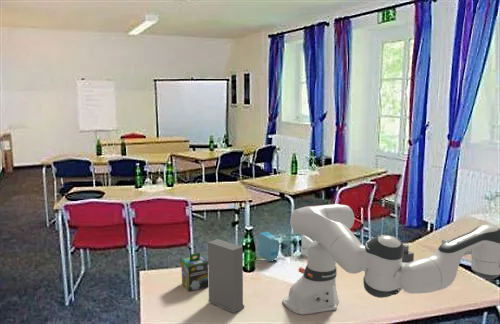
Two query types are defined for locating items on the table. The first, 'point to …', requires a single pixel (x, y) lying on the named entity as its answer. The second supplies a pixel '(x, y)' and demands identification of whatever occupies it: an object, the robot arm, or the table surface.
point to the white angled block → (305, 244)
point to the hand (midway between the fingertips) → (451, 239)
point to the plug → (407, 255)
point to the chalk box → (194, 272)
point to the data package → (268, 246)
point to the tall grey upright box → (225, 275)
